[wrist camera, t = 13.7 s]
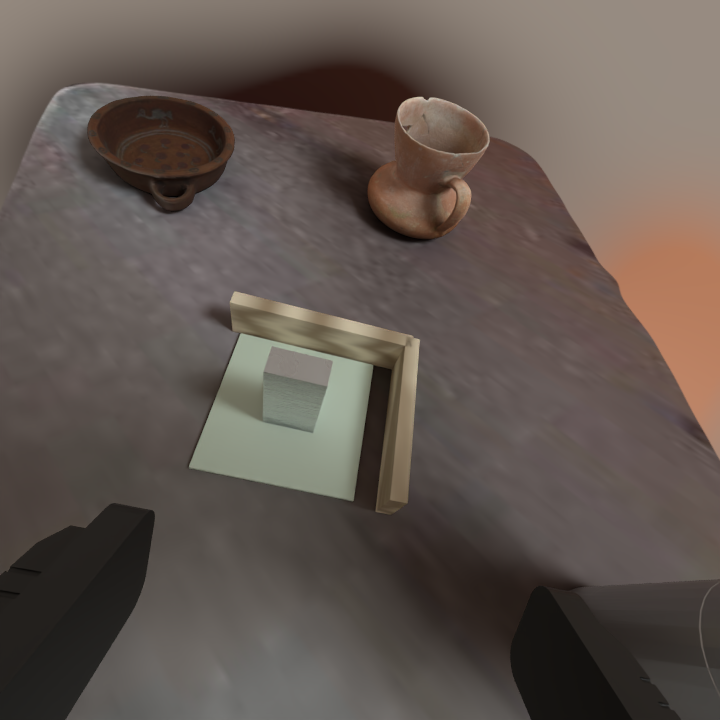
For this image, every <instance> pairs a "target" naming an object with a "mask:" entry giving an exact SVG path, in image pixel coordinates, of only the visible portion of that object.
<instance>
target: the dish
mask: <svg viewBox="0 0 720 720" xmlns="http://www.w3.org/2000/svg"><path fill="white" fill-rule="evenodd" d="M88 138H89V141H90V143H91V144H92V146H93V147H94V149H95V150H96V151H97V152H98V153H99V154H100V155H101V156H102V157H104V158H105V159H106V161H107V162H108V164H109V165H110V166H111V168H112V169H113V170H114V171H115V172H116V173H117V174H118V175H119V176H120V177H121V178H122V179H123V180H124V181H126V182H127V183H129V184H130V185H132V186H134V187H136V188H138V189H140V190H143V191H145V192H148V193H151V194H152V195H153V197H154V199H155V200H156V202H157V203H158V204H159V205H160V206H161V207H162V208H164V209H166V210H169V211H179V210H182V209H184V208H186V207H187V206H189V205H190V204H191V203H192V201H193V199H194V196H195V193H197V192H200V191H202V190H204V189H206V188H208V187H210V186H212V185H213V184H214V183H215V182H216V181H217V180H218V179H219V178H220V176H221V175H222V173H223V171H224V169H225V167H226V163H227V161H228V160H229V158H230V157H231V155H232V153H233V150H234V142H235V139H234V134H233V131H232V129H231V127H230V126H229V125H228V124H227V123H226V121H225V120H224V119H223V118H222V117H220V116H219V115H218V114H216V113H215V112H214V111H212V110H210V109H208V108H206V107H204V106H202V105H200V104H197V103H194V102H191V101H187V100H183V99H178V98H172V97H165V96H139V97H132V98H125V99H121V100H116V101H113V102H110V103H109V104H107V105H105V106H103V107H102V108H100V109H98V110H97V111H96V112H95V113H94V114H93V115H92V116H91V118H90V121H89V123H88ZM166 196H180V197H178V198H169V197H166Z"/></svg>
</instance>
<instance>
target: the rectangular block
mask: <svg viewBox="0 0 720 720" xmlns="http://www.w3.org/2000/svg"><path fill="white" fill-rule="evenodd" d="M332 364H333V361H331V360H327V359H323V358H319V357H315V356H311V355H306V354H302V353H298V352H294V351H290V350H286V349H282V348H277V347H273V346H272V347H271V350H270V353H269V356H268V359H267V362H266V366H265V369H264V372H263V422H265V423H269V424H274V425H278V426H283V427H287V428H292V429H296V430H301V431H305V432H310V433H313V432H314V428H315V425H316V422H317V419H318V416H319V412H320V409H321V406H322V403H323V400H324V396H325V393H326V390H327V387H328V382H329V378H330V373H331V368H332Z"/></svg>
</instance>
